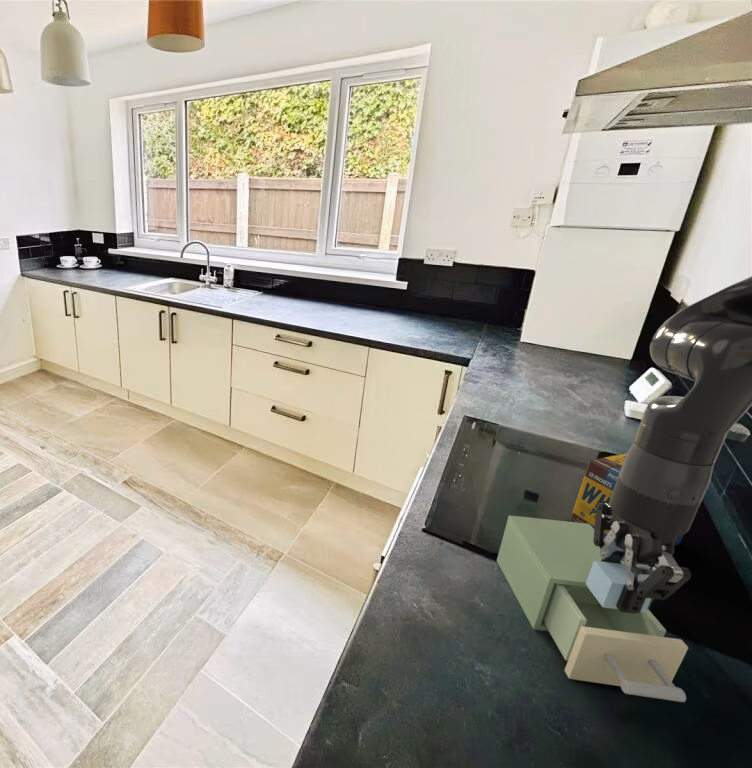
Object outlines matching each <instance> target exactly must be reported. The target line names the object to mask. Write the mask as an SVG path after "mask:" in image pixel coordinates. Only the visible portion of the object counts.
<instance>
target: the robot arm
mask: <svg viewBox="0 0 752 768" xmlns="http://www.w3.org/2000/svg"><path fill="white" fill-rule="evenodd" d="M649 354H650V357H651V359H652V361H653V362H654V363H655V365H656V366H658V367H659V368H661V369H662V370H664V371H665V372H668V373H672V374H674V375H675V376H678V377H682V378H684V379H688V380H690V381H693V382H694V384H693V386H692V387H691V389H690V390H689V391H688V392H687V393H686V395H684V396H677V395H662V396H658V397H656V398H653V399H652V400H651V401H650V402H649V403H648V404H647V405H646V407H645V410H644V412H643V414H642V418H641V420H640V423H639V426H638V428H637V431H636V433H635V436H634V439H633V441H632V444H631V446H630V447H629V448H628V451H627V452H626V453H625V454H626V457H625V459H624V462H623V465H622V467H621V470H620V473H619V476H618V478H617V481H616V484H615V487H614V490H613V492H612V495H611V498H610V501H609V504H607V503H598V504H597V508H596V518H595V529H594V540H593V542H594V545H595V546H598V547H600V549H601V550H600V557H601V558H602V559H601V562H609V563H618V564H622V563H621V562H620V561H624V567H625V568H626V569H627V575H626V582H625V584H626V585H624V587H623V590H622V592H621V595H620V597H619V600H618V602H617V605H616V607H617V608H618V609H619V611H620V612H624V613H632V614H635V613H639V612H640V611H641V609H642V607H643V604H644V602H645V600H646V598H651V600H652V599H653V600H661V601H666V600H667V599H668V598H669V597H671V596H672V595H673V594H674V593H675V592H676V591H678V589H680V588H681V587H682V586H683V585H685V584H686V583H687V582H688V581H689V580H690V579H691V577H692V572H691V571H690V569H689V568H687V567H683V566H682V567H681V566H679V565H678V563H677V562H676V560H675V558H674V557H673V555H674V554H675V546H674V542H675V539H676V538H678V537H679V536H681V535H683V534H684V535H685V534H686V533H688V532H689V530H690V529H691V526H692V524H693V522H694V519H695V517H696V514H697V513H698V510H699V508H700V506H701V503H702V501H703V500H704V497H705V495H706V492H707V490H708V488H709V486H710V484H711V480H712V475H713V471H714V467H715V464H716V461H717V459H718V457H719V455H720V452H721V450H722V448H723V445H724V443H725V441H726V439H727V436H728V434H729V431H730V430H731V429H732V428H733V427H734V426H735V424H736V423H737V422H738V421H739V420H740V419H741V418H742V417H743V416H744V415H745V414H746V413H747V412H748V411H749V410H750V408H751V407H752V275H751V276H748V277H746V278H745V279H743V280H740V281H738V282H735V283H733V284H731V285H728V286H726V287H724V288H722V289H720V290H719V291H716V292H714V293H712V294H710V295H708V296H706V297H704V298H702V299H700V300H698V301H696V302H694V303H691V304H689V305H688V306H686V307H685V308H683V309H681V310H679V311H678V312H676V313H675V314H673V315H672V316H670V317H669V318H668V319H666V320H665V321H664V322H663V323H662V325H661V326H660V327H659V328H658V329H657V330H656V332H655V333H654V335H653V337H652V339H651V342H650V345H649ZM605 530H610V531H609V533H608V534H607V536H606V537H605V538H603V535H604V531H605ZM684 535H683V536H684ZM639 574H643V575H644V580H643V581H638V575H639Z"/></svg>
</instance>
